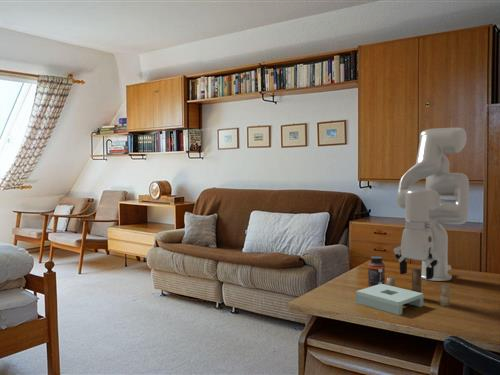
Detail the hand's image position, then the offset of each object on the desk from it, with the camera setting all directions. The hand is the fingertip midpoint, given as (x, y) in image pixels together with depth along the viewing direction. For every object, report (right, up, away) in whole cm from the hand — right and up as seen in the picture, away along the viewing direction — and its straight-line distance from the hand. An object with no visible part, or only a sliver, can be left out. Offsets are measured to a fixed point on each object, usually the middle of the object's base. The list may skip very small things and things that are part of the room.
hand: (416, 276), depth 152 cm
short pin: (-6, -7, +9) cm, 13 cm away
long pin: (+1, -8, +1) cm, 8 cm away
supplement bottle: (-9, -7, +15) cm, 19 cm away
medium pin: (+7, -8, -7) cm, 12 cm away
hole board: (-11, -8, -6) cm, 15 cm away
